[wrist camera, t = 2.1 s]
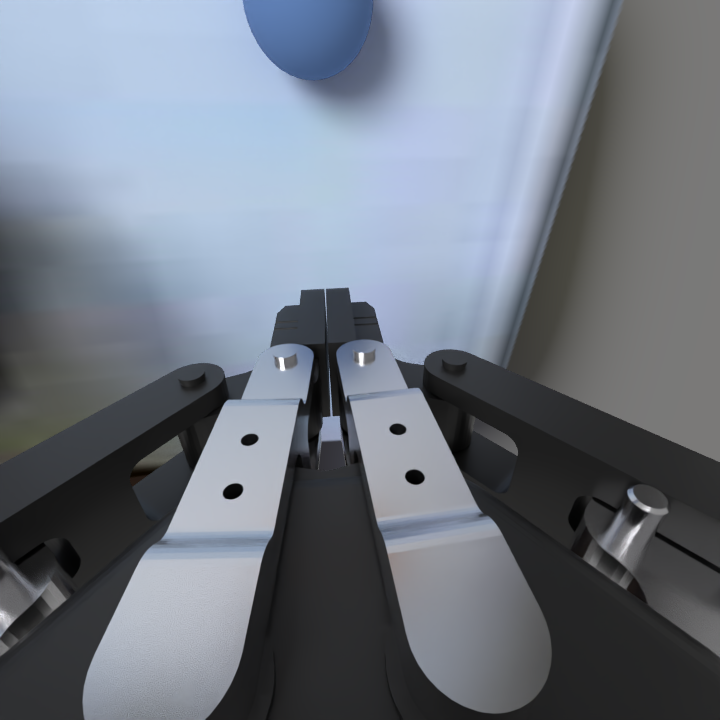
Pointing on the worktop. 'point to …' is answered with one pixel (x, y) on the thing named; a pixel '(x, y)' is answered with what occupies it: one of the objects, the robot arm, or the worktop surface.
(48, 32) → the worktop surface
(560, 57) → the worktop surface
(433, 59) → the worktop surface
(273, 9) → the ball
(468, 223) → the worktop surface
